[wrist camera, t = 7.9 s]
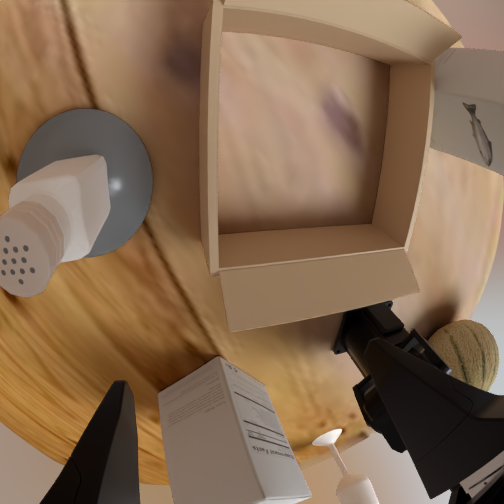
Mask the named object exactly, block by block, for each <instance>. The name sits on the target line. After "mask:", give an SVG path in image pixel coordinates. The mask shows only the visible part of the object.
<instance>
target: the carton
mask: <svg viewBox="0 0 504 504" xmlns="http://www.w3.org/2000/svg"><path fill="white" fill-rule="evenodd" d="M222 32H239V33H251V34H260V35H269V36H276V37H283V38H289V39H295V40H300V41H306V42H311V43H315V44H320V45H324V46H329V47H333V48H337V49H341V50H344V51H348V52H352V53H355V54H358V55H362V56H365V57H368V58H371V59H374V60H377V61H380V62H383V63H386V64H389V65H390V85H389V102H388V115H387V126H386V135H385V144H384V152H383V160H382V167H381V174H380V180H379V186H378V192H377V198H376V203H375V209H374V214H373V219H372V224H359V225H342V226H326V227H311V228H296V229H282V230H269V231H256V232H243V233H231V234H219V235H218V119H219V83H220V58H221V38H222ZM461 38H462V36H461V35H460V34H458V33H457V32H456V31H454V30H453V29H452V28H450V27H449V26H447V25H446V24H444V23H443V22H441V21H440V20H438V19H437V18H435V17H434V16H432V15H431V14H429V13H427V12H426V11H424V10H422V9H421V8H419V7H417V6H415V5H414V4H412V3H410V2H408V1H407V0H213V2H212V4H211V6H210V8H209V11H208V13H207V16H206V18H205V20H204V23H203V30H202V47H201V69H200V102H199V184H200V220H201V243H202V247H203V251H204V254H205V258H206V262H207V266H208V270H209V273H210V277H214V276H219V277H220V283H221V289H222V295H223V300H224V306H225V312H226V317H227V323H228V328H229V333H231V332H237V331H244V330H250V329H257V328H263V327H269V326H274V325H280V324H286V323H291V322H296V321H301V320H306V319H311V318H316V317H321V316H326V315H330V314H335V313H340V312H344V311H348V310H353V309H357V308H361V307H365V306H369V305H373V304H377V303H381V302H385V301H389V300H393V299H396V298H400V297H404V296H407V295H411V294H414V293H418V292H420V289H419V286H418V284H417V281H416V278H415V275H414V273H413V270H412V267H411V265H410V262H409V260H408V257H407V255H406V252H407V250H408V247H409V243H410V240H411V236H412V232H413V228H414V224H415V220H416V216H417V212H418V208H419V203H420V198H421V194H422V189H423V183H424V178H425V172H426V167H427V160H428V154H429V147H430V139H431V130H432V121H433V109H434V94H435V59H436V58H437V57H439V56H440V55H441V54H442V53H443V52H445V51H446V50H447V49H448V48H450V47H451V46H452V45H453V44H454V43H456V42H457V41H458V40H459V39H461Z"/></svg>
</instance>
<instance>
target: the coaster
mask: <svg viewBox="0 0 504 504" xmlns="http://www.w3.org/2000/svg"><path fill="white" fill-rule="evenodd" d="M96 154H97V155H100V156H103V157H104V159H105V161H106V165H107V177H108V188H109V197H110V206H111V208H110V212H109V215H108V217H107V219H106V221H105V222H104V224H103V226H102V228H101V230H100V232H99V234H98V236H97V238H96V240H95V242H94V244H93V246H92V249H91V251H90V253H88V254H87V255H86V256H84V257H95V256H100V255H103V254H107V253H109V252H111V251H113V250H116V249H117V248H119V247H120V246H122V245H123V244H124V243H126V242H127V241H128V240H129V239H130V238H131V237H132V236H133V235H134V234H135V233H136V231H137V230H138V228H139V227H140V226H141V224H142V222H143V220H144V218H145V216H146V214H147V211H148V209H149V205H150V201H151V197H152V189H153V173H152V165H151V162H150V158H149V155H148V152H147V150H146V147H145V145H144V144H143V142H142V140H141V138H140V137H139V136H138V134H137V133H136V132H135V131H134V130H133V129H132V128H131V127H130V126H129V125H128V124H127V123H126V122H125V121H123V120H122V119H120V118H119V117H117V116H115V115H113V114H111V113H108V112H105V111H102V110H96V109H76V110H70V111H67V112H64V113H61V114H59V115H57V116H55V117H53V118H51V119H50V120H48V121H47V122H45V123H44V124H43V125H42V126H41V127H40V128H39V129H38V130H37V131H36V132H35V133H34V134H33V136H32V137H31V138H30V140H29V141H28V143H27V145H26V147H25V149H24V151H23V153H22V156H21V159H20V161H19V166H18V170H17V180H16V183H18V182H19V181H21V180H23V179H24V178H26V177H28V176H29V175H31V174H33V173H35V172H36V171H38V170H40V169H42V168H44V167H46V166H47V165H49V164H51V163H53V162H55V161H59V160H64V159H70V158H76V157H82V156H89V155H96Z"/></svg>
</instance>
